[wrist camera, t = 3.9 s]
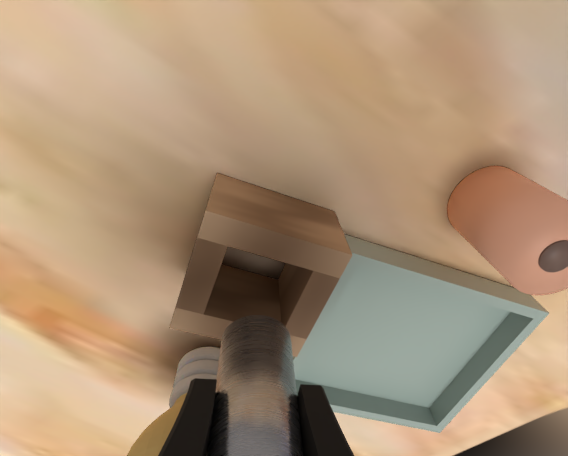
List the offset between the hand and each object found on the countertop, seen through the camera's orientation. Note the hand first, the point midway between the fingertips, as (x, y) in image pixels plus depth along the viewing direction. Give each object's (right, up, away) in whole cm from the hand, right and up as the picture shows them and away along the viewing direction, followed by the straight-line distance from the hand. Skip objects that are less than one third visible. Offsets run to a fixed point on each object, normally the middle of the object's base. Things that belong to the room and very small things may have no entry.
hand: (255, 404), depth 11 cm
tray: (+8, -1, +12) cm, 14 cm away
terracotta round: (+11, +6, +8) cm, 15 cm away
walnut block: (-1, +4, +8) cm, 9 cm away
